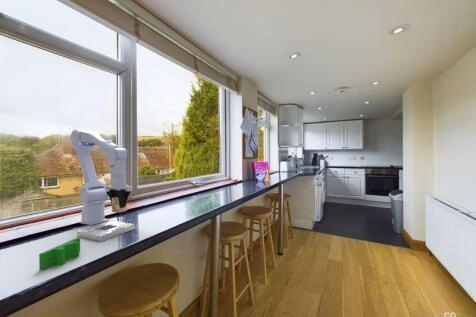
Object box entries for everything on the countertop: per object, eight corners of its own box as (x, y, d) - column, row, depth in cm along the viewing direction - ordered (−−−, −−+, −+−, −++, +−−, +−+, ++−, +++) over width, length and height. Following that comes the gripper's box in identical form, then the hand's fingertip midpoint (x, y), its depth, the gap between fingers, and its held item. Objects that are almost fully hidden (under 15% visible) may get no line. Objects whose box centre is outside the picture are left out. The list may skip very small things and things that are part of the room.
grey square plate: (77, 236, 79) (76, 231, 79) (112, 225, 92) (112, 220, 92) (100, 241, 73) (100, 236, 73) (134, 229, 86) (134, 224, 86)
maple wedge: (112, 211, 89) (111, 197, 89) (120, 209, 92) (120, 196, 92) (118, 212, 87) (118, 198, 87) (127, 210, 91) (126, 196, 91)
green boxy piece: (51, 272, 54) (51, 254, 54) (39, 271, 55) (38, 254, 55) (87, 252, 65) (87, 237, 65) (77, 251, 66) (76, 237, 66)
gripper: (138, 175, 90) (139, 206, 90) (115, 174, 96) (116, 204, 96) (123, 176, 84) (124, 210, 84) (100, 176, 89) (101, 207, 89)
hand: (119, 207), depth 89 cm, fingers closed on maple wedge, 4 cm apart
